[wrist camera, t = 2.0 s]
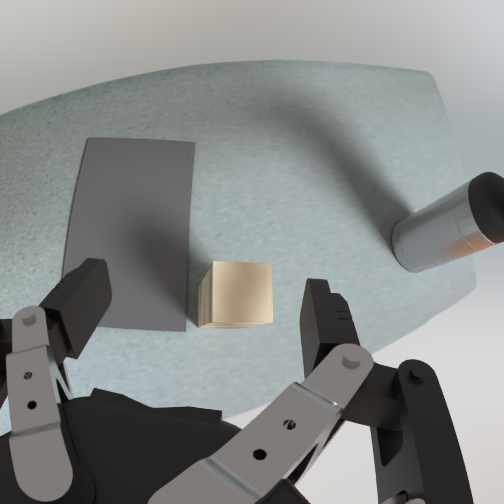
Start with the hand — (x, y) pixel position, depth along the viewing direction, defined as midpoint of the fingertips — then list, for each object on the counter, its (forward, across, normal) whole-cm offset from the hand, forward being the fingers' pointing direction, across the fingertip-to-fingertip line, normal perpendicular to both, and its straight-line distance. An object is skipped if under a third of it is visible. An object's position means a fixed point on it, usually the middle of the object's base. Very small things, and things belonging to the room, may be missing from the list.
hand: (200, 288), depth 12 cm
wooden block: (+22, +2, +18) cm, 28 cm away
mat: (+26, +15, +9) cm, 31 cm away
